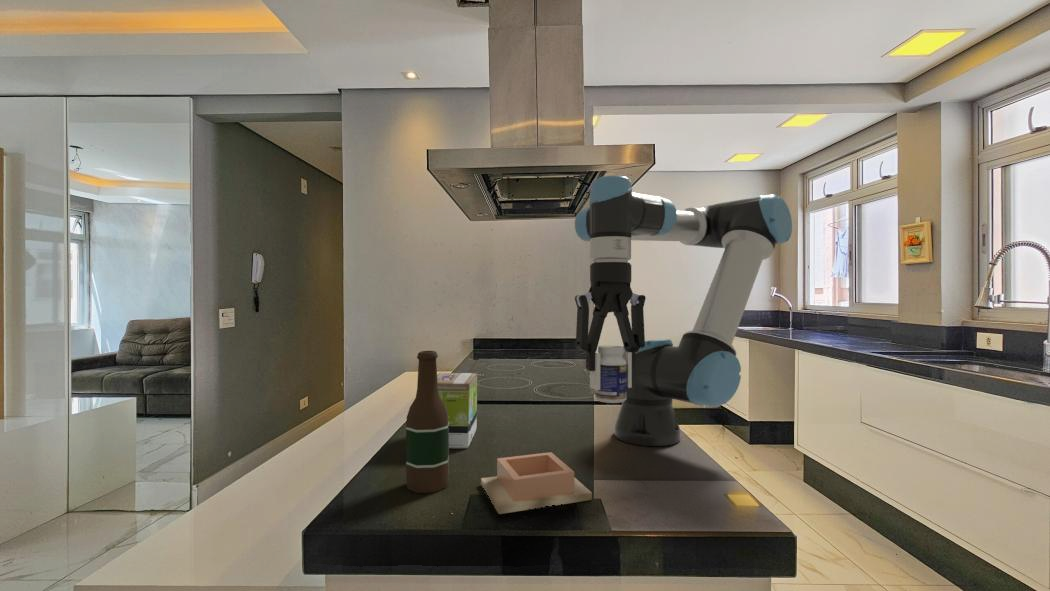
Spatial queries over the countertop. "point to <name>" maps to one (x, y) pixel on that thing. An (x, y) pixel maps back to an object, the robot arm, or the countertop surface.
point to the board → (507, 505)
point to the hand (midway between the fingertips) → (610, 387)
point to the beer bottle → (427, 432)
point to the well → (535, 476)
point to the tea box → (459, 406)
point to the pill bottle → (612, 375)
